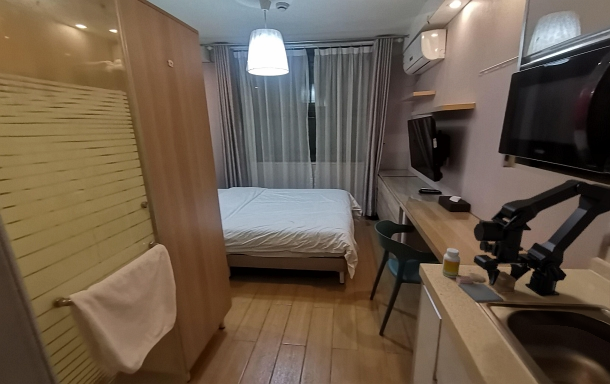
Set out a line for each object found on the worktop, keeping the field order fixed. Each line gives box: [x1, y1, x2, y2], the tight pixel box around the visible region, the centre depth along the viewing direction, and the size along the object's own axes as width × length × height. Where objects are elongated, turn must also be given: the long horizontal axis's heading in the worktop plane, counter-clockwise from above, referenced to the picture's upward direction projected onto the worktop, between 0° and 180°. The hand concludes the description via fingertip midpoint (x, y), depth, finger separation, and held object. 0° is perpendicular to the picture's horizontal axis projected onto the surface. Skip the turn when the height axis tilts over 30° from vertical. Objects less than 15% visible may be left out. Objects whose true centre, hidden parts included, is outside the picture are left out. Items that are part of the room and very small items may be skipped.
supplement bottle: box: [441, 247, 461, 279], centre depth 101 cm, size 5×5×10 cm
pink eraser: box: [455, 275, 474, 284], centre depth 97 cm, size 5×2×2 cm, turn 97°
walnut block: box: [487, 270, 517, 294], centre depth 93 cm, size 5×5×5 cm
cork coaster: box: [465, 272, 486, 283], centre depth 100 cm, size 6×6×1 cm
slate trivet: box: [457, 282, 504, 303], centre depth 91 cm, size 9×9×1 cm
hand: (501, 284), depth 93 cm, fingers open, 7 cm apart
